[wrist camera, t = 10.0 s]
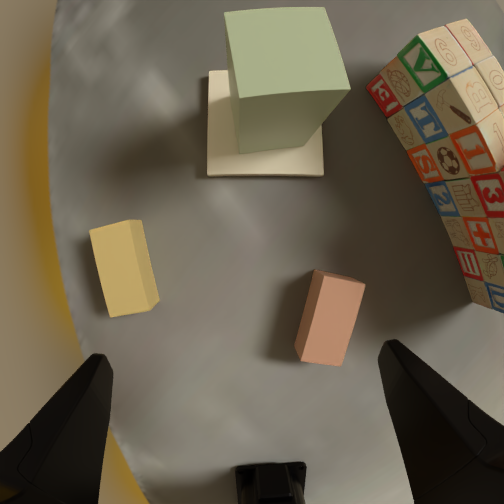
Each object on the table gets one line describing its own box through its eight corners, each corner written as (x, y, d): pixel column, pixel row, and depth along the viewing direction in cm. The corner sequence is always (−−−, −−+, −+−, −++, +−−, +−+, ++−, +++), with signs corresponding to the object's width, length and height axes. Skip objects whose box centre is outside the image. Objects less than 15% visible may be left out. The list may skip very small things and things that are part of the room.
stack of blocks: (361, 87, 22) (441, 6, 10) (410, 64, 22) (491, -3, 9) (472, 303, 24) (569, 341, 12) (508, 265, 24) (601, 285, 12)
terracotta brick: (329, 350, 24) (340, 366, 21) (293, 344, 23) (300, 360, 20) (350, 276, 23) (365, 284, 20) (313, 268, 23) (324, 275, 20)
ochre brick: (160, 299, 23) (149, 310, 20) (124, 306, 23) (110, 317, 20) (142, 220, 22) (128, 219, 19) (106, 229, 22) (89, 230, 19)
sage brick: (303, 145, 21) (350, 89, 11) (239, 154, 21) (239, 97, 11) (291, 88, 21) (324, 7, 11) (229, 95, 21) (223, 12, 11)
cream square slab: (318, 177, 23) (323, 175, 21) (209, 177, 23) (207, 174, 21) (313, 81, 22) (317, 73, 21) (210, 79, 22) (209, 70, 20)
